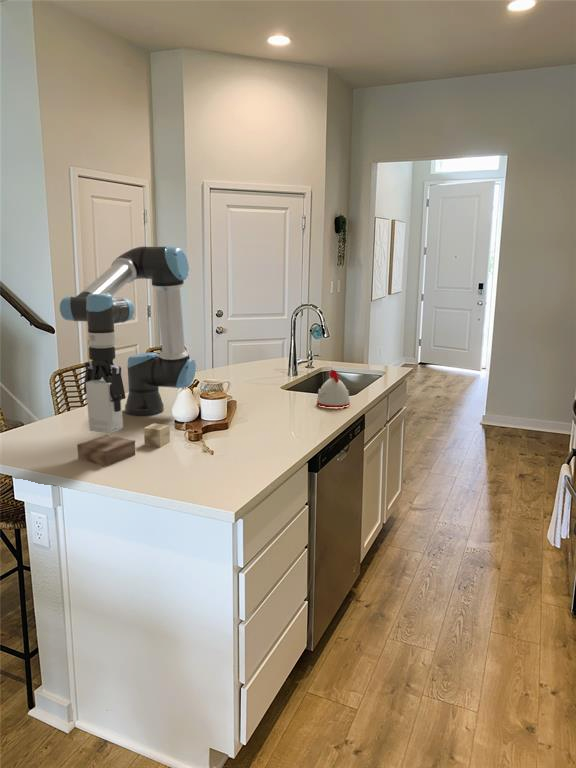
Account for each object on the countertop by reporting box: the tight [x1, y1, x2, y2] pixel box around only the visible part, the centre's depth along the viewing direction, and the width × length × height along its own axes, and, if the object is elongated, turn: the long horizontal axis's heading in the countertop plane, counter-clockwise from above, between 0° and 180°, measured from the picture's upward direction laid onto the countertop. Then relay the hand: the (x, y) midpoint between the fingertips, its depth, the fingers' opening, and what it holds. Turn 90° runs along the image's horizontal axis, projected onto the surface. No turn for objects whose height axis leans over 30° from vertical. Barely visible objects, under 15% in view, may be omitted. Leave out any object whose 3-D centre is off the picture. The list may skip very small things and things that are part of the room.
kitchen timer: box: [316, 369, 350, 407], centre depth 249 cm, size 14×14×15 cm
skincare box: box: [85, 377, 124, 434], centre depth 179 cm, size 8×7×16 cm
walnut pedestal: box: [77, 434, 136, 467], centre depth 181 cm, size 12×12×5 cm
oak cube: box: [143, 422, 171, 448], centre depth 195 cm, size 6×6×6 cm
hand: (105, 418), depth 180 cm, fingers closed on skincare box, 9 cm apart
